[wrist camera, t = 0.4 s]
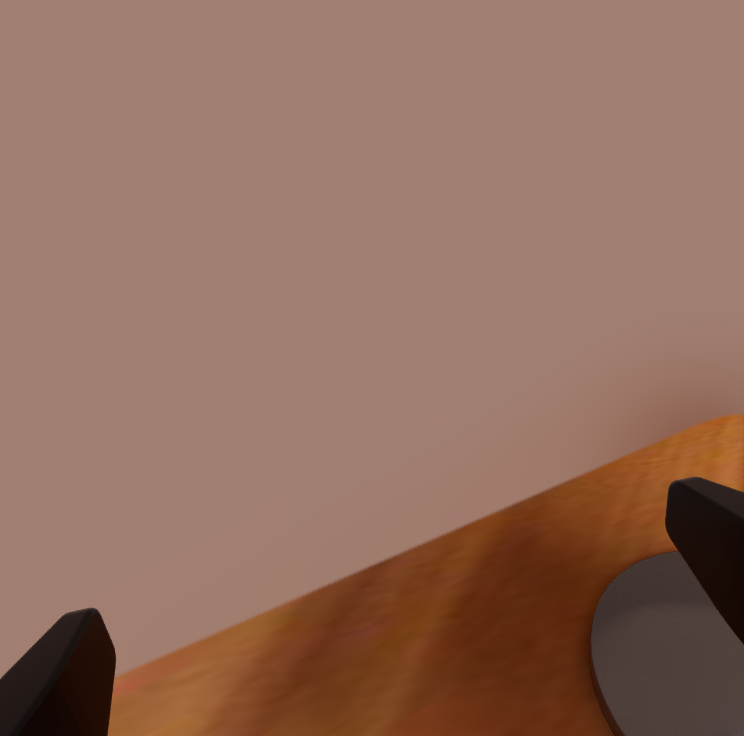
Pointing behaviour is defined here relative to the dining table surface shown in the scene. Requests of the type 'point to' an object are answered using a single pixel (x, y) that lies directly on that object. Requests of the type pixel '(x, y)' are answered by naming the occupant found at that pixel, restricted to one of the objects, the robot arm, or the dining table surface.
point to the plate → (665, 655)
